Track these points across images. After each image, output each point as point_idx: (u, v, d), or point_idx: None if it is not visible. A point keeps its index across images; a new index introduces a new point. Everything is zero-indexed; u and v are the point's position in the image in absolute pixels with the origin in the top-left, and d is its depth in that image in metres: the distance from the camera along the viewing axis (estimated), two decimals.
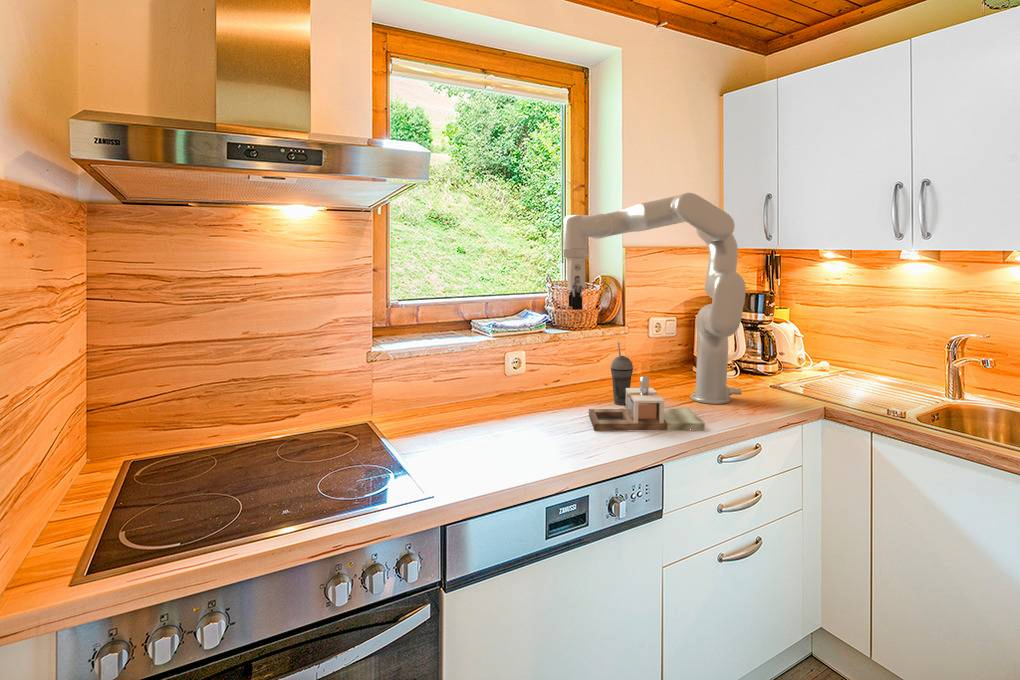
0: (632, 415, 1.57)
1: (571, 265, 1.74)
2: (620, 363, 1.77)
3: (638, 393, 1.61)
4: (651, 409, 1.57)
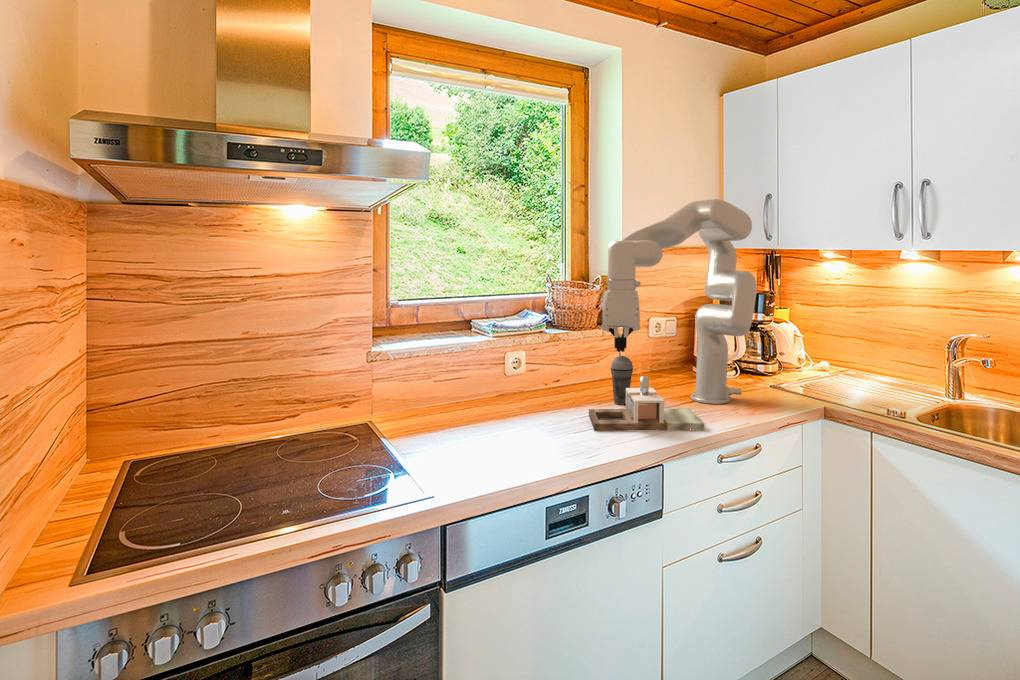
0: (632, 415, 1.57)
1: (637, 298, 1.53)
2: (620, 363, 1.77)
3: (638, 393, 1.61)
4: (651, 409, 1.57)
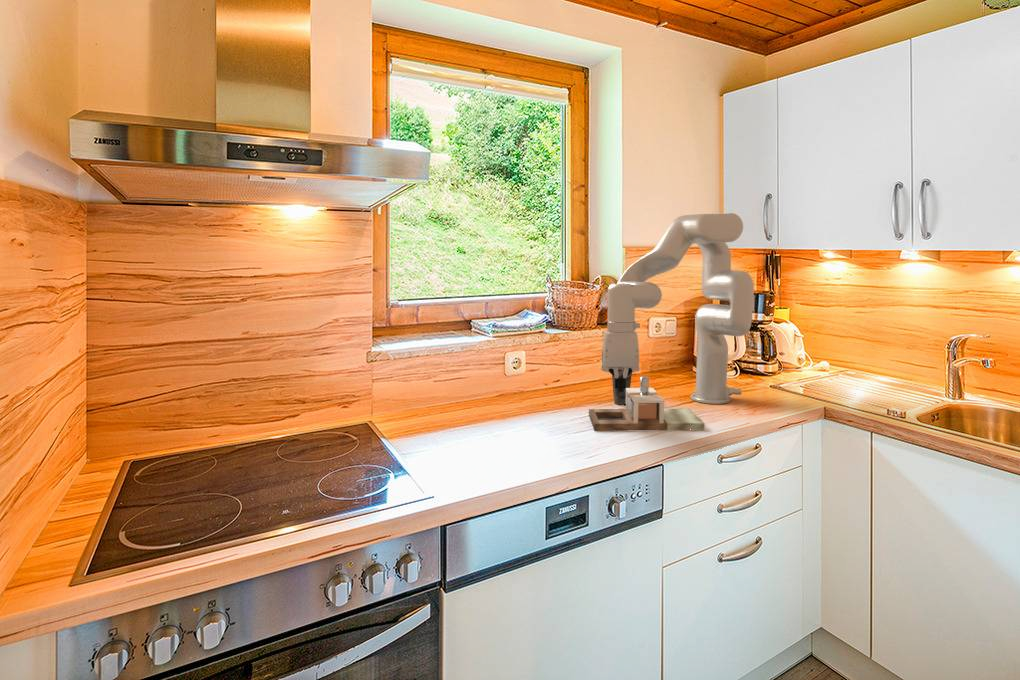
0: (632, 415, 1.57)
1: (637, 339, 1.55)
2: None
3: (638, 393, 1.61)
4: (651, 409, 1.57)
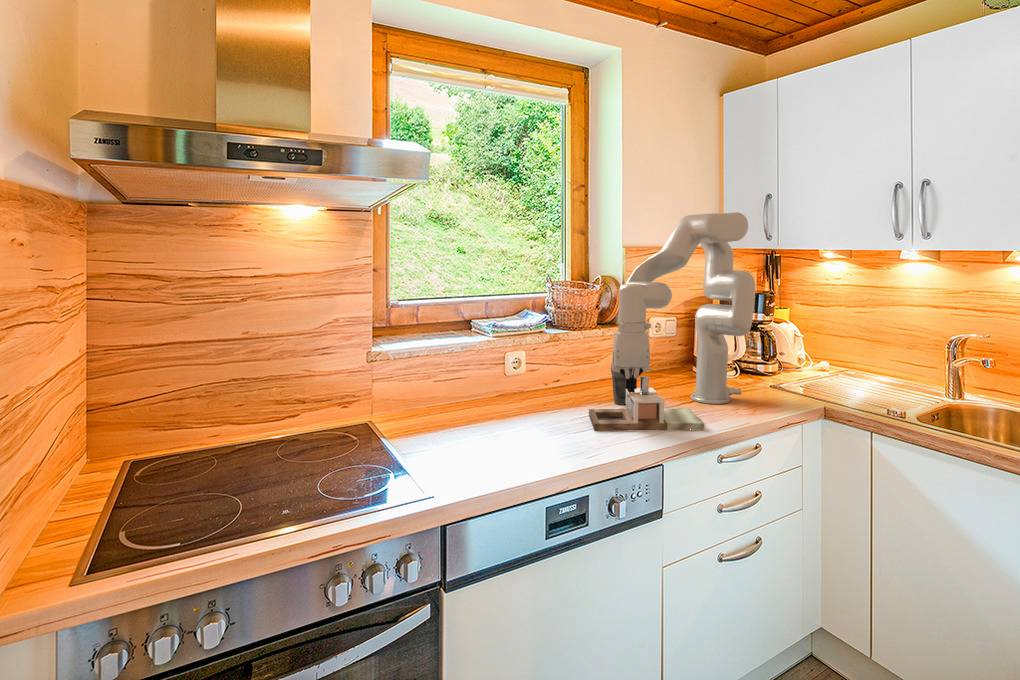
0: (632, 415, 1.57)
1: (648, 340, 1.55)
2: None
3: (638, 393, 1.61)
4: (651, 409, 1.57)
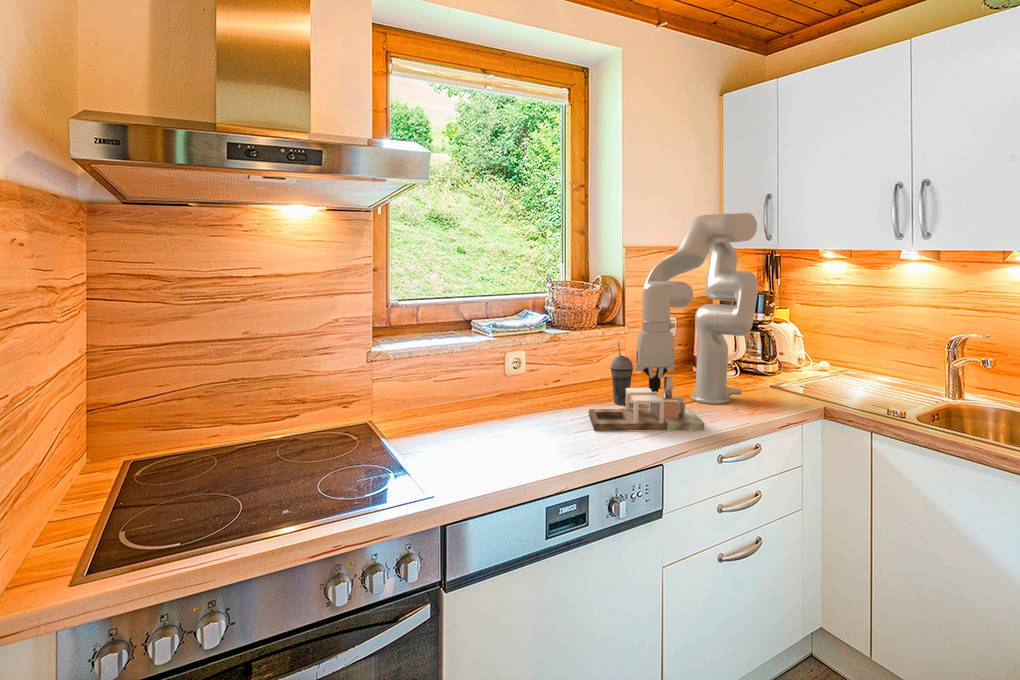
0: (656, 415, 1.57)
1: (672, 339, 1.55)
2: (620, 363, 1.77)
3: (638, 393, 1.61)
4: (673, 409, 1.57)
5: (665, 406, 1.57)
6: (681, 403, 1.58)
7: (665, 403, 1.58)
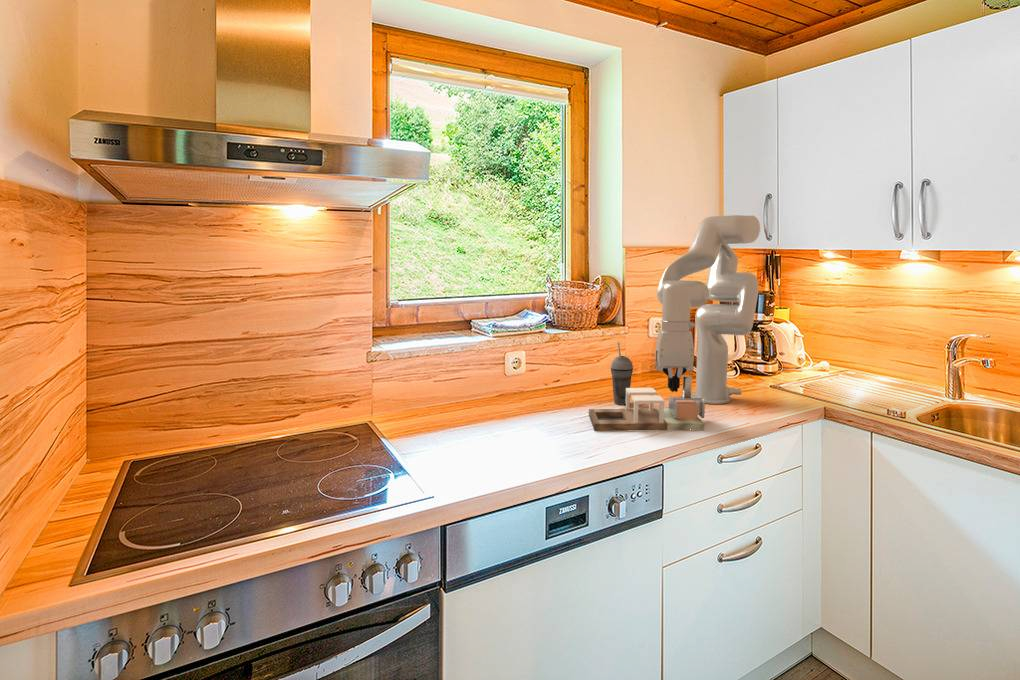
0: (675, 415, 1.56)
1: (692, 339, 1.55)
2: (620, 363, 1.77)
3: (638, 393, 1.61)
4: (692, 409, 1.57)
5: (684, 406, 1.57)
6: (700, 403, 1.57)
7: (684, 403, 1.58)
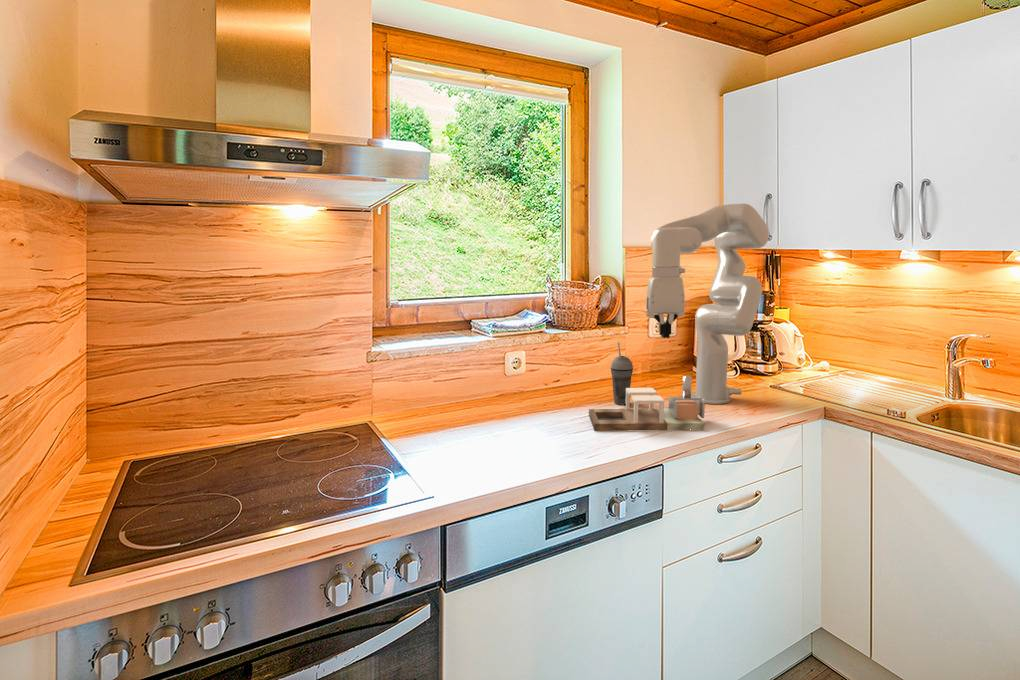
0: (675, 415, 1.56)
1: (682, 284, 1.55)
2: (620, 363, 1.77)
3: (638, 393, 1.61)
4: (692, 409, 1.57)
5: (684, 406, 1.57)
6: (700, 403, 1.57)
7: (684, 403, 1.58)
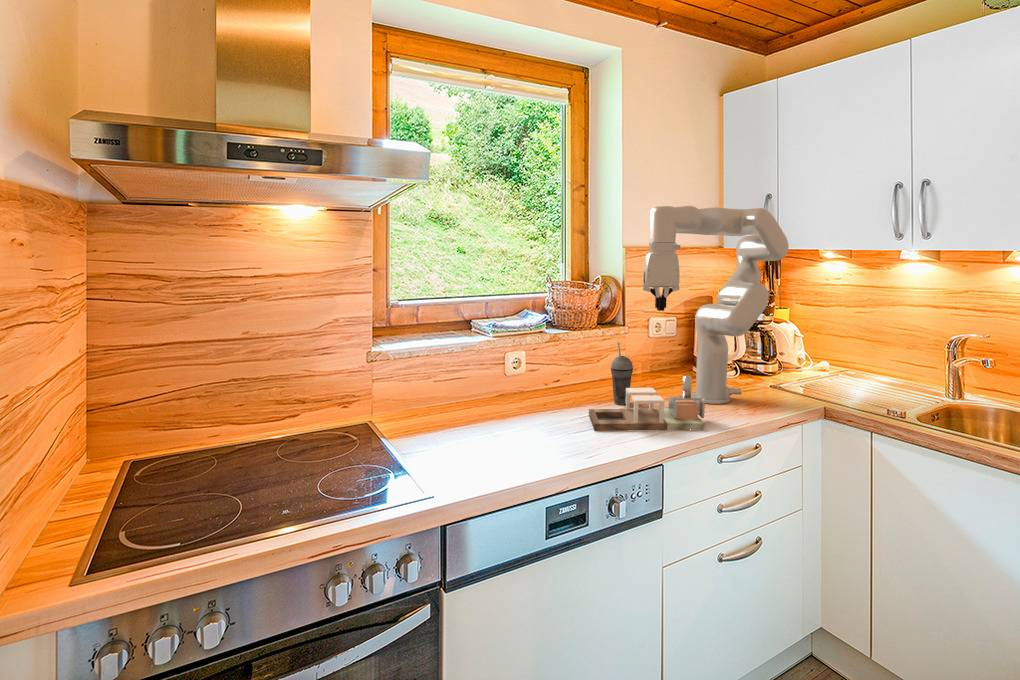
0: (675, 415, 1.56)
1: (677, 260, 1.64)
2: (620, 363, 1.77)
3: (638, 393, 1.61)
4: (692, 409, 1.57)
5: (684, 406, 1.57)
6: (700, 403, 1.57)
7: (684, 403, 1.58)
